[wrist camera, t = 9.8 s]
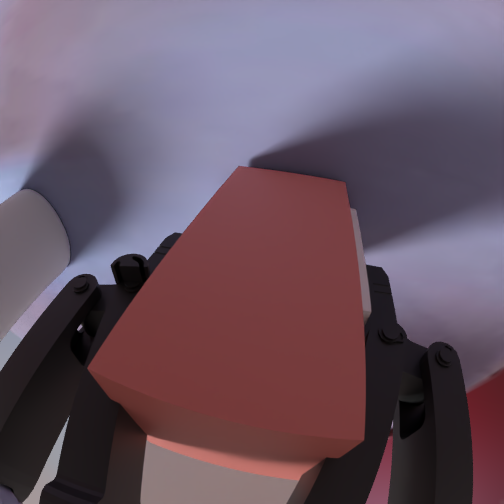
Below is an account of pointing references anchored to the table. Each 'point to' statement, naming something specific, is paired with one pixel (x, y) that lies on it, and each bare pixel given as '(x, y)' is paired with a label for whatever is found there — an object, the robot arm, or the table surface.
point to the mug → (28, 253)
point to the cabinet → (205, 482)
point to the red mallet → (249, 331)
